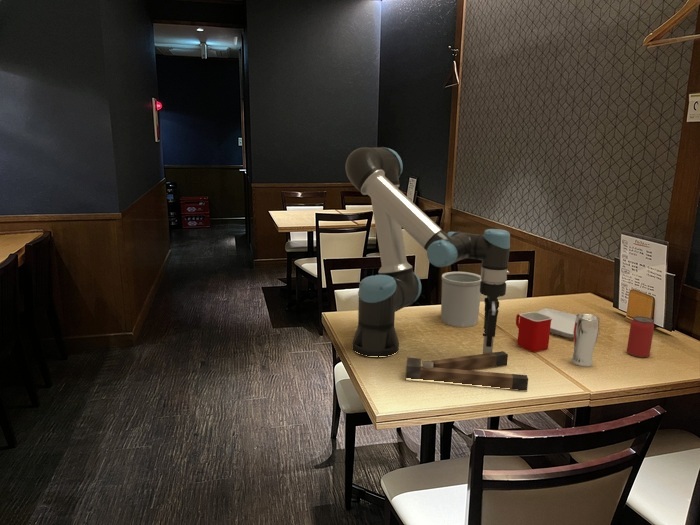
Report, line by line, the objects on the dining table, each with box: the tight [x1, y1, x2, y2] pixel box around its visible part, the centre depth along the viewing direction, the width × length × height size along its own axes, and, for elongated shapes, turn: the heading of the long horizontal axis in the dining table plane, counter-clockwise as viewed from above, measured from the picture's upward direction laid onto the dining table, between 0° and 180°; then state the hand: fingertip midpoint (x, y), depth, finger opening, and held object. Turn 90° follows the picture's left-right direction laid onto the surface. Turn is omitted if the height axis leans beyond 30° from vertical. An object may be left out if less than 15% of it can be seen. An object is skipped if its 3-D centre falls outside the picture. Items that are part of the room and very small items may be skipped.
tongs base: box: [405, 357, 529, 391], centre depth 145 cm, size 33×6×5 cm, turn 81°
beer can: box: [626, 315, 655, 358], centre depth 165 cm, size 7×7×12 cm
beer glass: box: [570, 312, 600, 368], centre depth 157 cm, size 7×7×15 cm
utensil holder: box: [440, 271, 482, 328], centre depth 192 cm, size 15×15×18 cm
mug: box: [515, 311, 552, 353], centre depth 171 cm, size 12×8×11 cm
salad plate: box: [519, 307, 600, 338], centre depth 189 cm, size 21×21×3 cm
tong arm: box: [431, 350, 509, 371], centre depth 153 cm, size 24×2×4 cm, turn 109°
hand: (487, 354), depth 159 cm, fingers closed
